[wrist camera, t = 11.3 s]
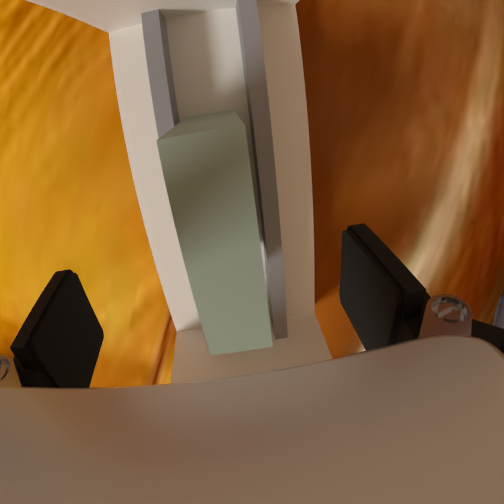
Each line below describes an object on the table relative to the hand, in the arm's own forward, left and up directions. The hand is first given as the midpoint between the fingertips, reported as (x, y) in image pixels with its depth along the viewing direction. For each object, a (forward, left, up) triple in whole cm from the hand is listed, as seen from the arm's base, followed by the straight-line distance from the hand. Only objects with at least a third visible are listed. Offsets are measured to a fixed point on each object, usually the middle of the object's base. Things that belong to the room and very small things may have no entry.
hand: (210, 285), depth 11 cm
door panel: (0, 0, -12) cm, 12 cm away
